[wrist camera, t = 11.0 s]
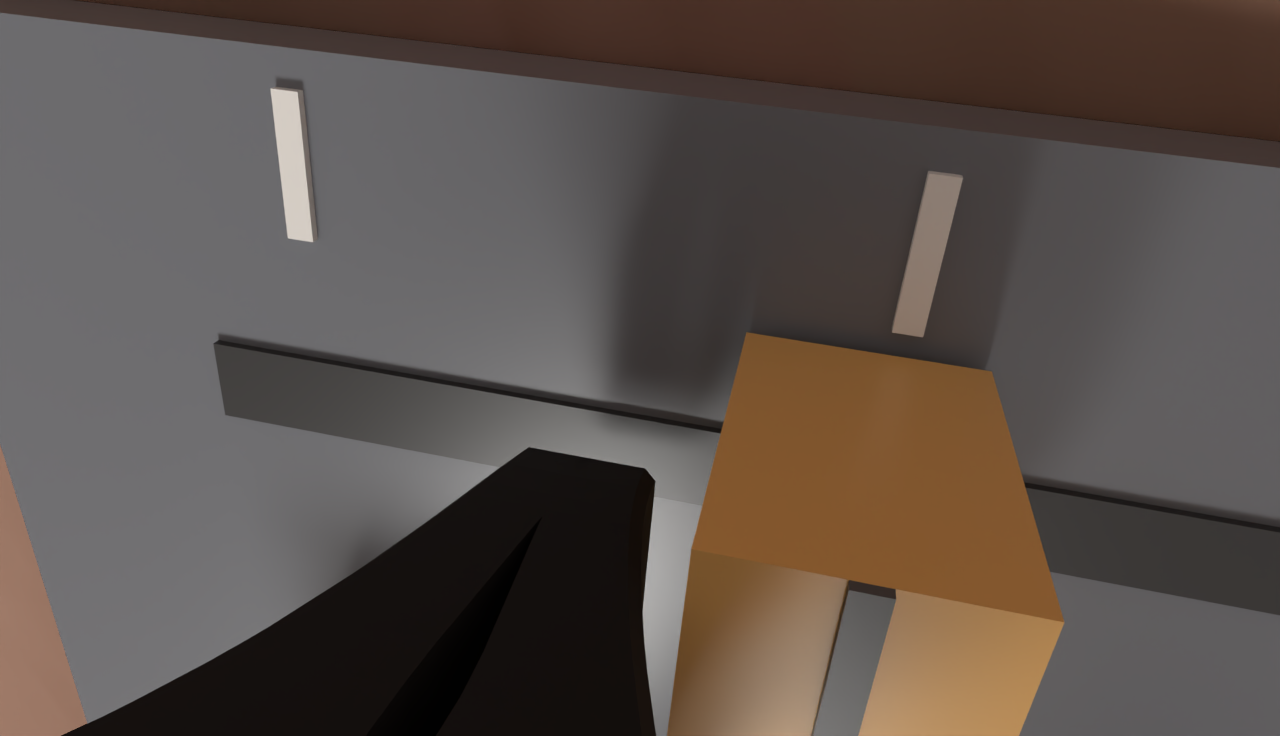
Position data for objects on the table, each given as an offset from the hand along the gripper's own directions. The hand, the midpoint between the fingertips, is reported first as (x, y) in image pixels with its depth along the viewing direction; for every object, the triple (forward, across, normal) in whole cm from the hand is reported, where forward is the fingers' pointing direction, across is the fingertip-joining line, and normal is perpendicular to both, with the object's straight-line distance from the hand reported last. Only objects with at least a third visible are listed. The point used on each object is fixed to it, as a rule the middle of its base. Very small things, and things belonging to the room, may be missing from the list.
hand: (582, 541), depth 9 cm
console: (+3, -1, +4) cm, 5 cm away
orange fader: (+1, -2, 0) cm, 3 cm away
